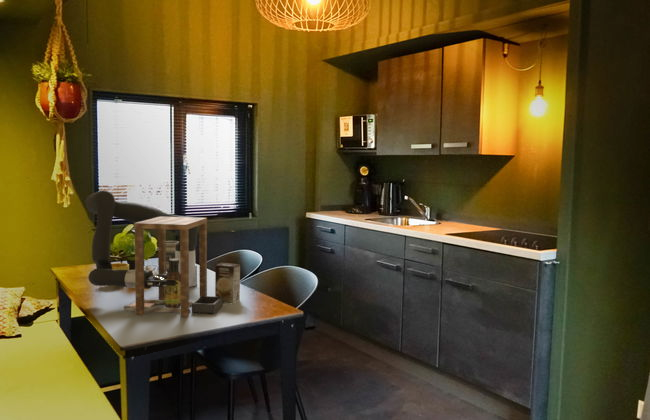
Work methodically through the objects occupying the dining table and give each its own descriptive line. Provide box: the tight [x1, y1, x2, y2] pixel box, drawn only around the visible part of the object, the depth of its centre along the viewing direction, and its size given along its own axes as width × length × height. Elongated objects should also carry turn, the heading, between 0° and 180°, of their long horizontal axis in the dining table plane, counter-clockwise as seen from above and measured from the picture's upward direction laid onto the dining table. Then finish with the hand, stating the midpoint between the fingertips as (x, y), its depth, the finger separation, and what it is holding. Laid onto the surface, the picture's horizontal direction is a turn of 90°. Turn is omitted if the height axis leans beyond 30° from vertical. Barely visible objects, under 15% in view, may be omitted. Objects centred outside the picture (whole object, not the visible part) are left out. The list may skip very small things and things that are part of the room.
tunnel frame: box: [123, 216, 208, 319], centre depth 224 cm, size 28×25×36 cm
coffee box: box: [214, 262, 241, 305], centre depth 237 cm, size 9×6×16 cm
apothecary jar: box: [166, 240, 179, 274], centre depth 284 cm, size 12×12×18 cm
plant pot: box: [111, 262, 130, 288], centre depth 262 cm, size 10×10×10 cm
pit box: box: [191, 295, 224, 315], centre depth 223 cm, size 9×12×4 cm
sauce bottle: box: [164, 259, 181, 308], centre depth 224 cm, size 6×6×20 cm
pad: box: [128, 301, 157, 307], centre depth 226 cm, size 9×10×1 cm
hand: (178, 281), depth 224 cm, fingers closed on sauce bottle, 6 cm apart
